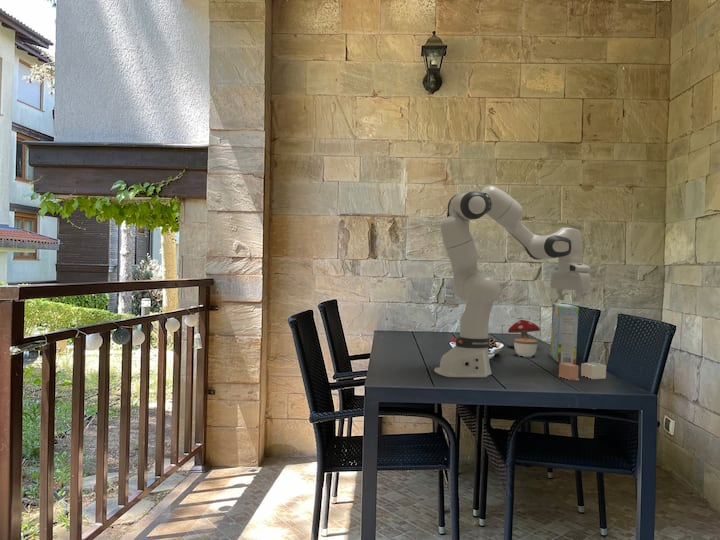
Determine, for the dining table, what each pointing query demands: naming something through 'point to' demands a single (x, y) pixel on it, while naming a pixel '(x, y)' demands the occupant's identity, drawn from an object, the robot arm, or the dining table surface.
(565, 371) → the stub
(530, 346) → the lidded jar
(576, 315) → the snack box
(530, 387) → the dining table surface
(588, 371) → the block
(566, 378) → the stub mat
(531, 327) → the decorative mushroom
